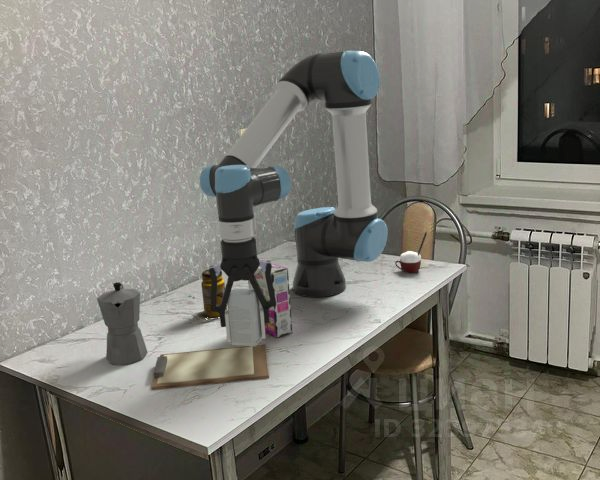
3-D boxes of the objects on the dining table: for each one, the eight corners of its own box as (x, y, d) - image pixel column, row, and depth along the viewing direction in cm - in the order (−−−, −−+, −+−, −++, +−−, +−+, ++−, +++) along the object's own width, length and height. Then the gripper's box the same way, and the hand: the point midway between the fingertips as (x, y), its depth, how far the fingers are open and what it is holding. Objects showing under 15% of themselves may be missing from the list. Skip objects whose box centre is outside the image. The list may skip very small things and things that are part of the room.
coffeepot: (148, 365, 146) (138, 288, 142) (104, 372, 144) (92, 294, 140) (147, 339, 161) (138, 269, 156) (108, 345, 159) (97, 274, 154)
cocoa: (394, 273, 199) (390, 235, 196) (402, 267, 204) (399, 230, 201) (423, 276, 194) (420, 237, 190) (431, 269, 198) (428, 231, 195)
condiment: (233, 314, 173) (229, 271, 170) (204, 323, 169) (199, 278, 166) (221, 307, 179) (216, 265, 176) (192, 315, 175) (187, 272, 172)
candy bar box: (293, 332, 159) (289, 268, 155) (277, 338, 156) (271, 273, 152) (267, 320, 168) (262, 259, 163) (251, 326, 165) (245, 263, 160)
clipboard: (265, 346, 152) (265, 339, 151) (268, 377, 136) (268, 370, 136) (160, 356, 150) (159, 349, 150) (152, 389, 135) (150, 381, 134)
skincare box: (262, 339, 148) (259, 289, 145) (255, 347, 144) (251, 295, 141) (238, 337, 150) (233, 287, 147) (230, 345, 146) (225, 293, 143)
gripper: (189, 246, 136) (200, 348, 142) (285, 238, 138) (292, 340, 144) (192, 237, 144) (202, 335, 149) (283, 230, 145) (289, 327, 151)
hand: (246, 337), depth 147 cm, fingers closed on skincare box, 7 cm apart
